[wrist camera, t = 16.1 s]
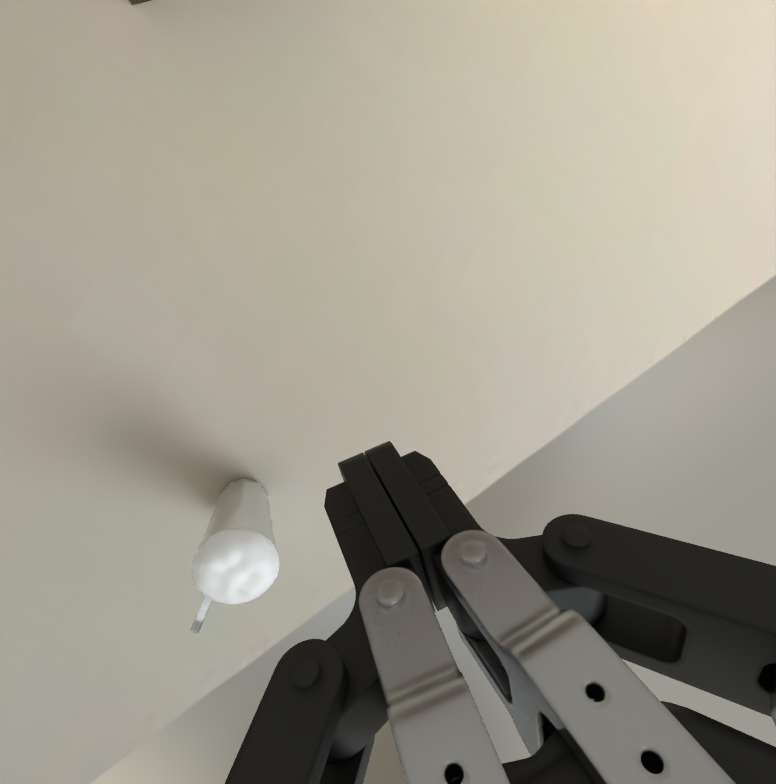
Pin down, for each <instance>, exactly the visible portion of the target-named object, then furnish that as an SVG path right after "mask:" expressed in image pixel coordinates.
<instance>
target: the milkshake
mask: <svg viewBox="0 0 776 784" xmlns="http://www.w3.org/2000/svg"><path fill="white" fill-rule="evenodd" d="M278 571H279V558H278V553H277V548H276V543H275V538H274V534H273V528H272V521H271V514H270V508H269V501H268V495H267V493H266V492H265V490H264V489H263V487H262V486H261V485H260V483H258V482H255V481H252V480H249V479H246V478H245V479H241V480H237V481H233V482H230V483H229V484H228V485H227V487H226V488H225V489H224V490H223V491H222V492H221V493H220V496H219V498H218V501H217V503H216V506H215V508H214V511H213V514H212V516H211V519H210V521H209V524H208V527H207V529H206V532H205V534H204V536H203V538H202V541H201V543H200V545H199V547H198V550H197V552H196V553H195V555H194V558H193V564H192V575H193V580H194V583H195V585H196V586H197V588H198V589H199V590H200V591H201V592H202V593H203V594H204V595H205V597H204V599H203V602H202V604H201V606H200V609H199V611H198V613H197V615H196V618H195V620H194V622H193V625H192V627H191V631H192V632H194V633H196V634H198V633H199V630H200V628H201V626H202V623H203V621H204V618H205V616H206V614H207V611H208V609H209V606H210V604H211V602H212V600H215V601H217V602H220V603H224V604H231V605H232V604H240V603H244V602H248V601H250V600H253V599H255V598H257V597H259V596H260V595H261V594H262V593H264V592H265V591H266V590H267V589H268V588H269V587H270V586H271V585H272V584H273V582H274V581H275V579H276V577H277V574H278Z"/></svg>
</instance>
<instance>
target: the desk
mask: <svg viewBox="0 0 776 784" xmlns="http://www.w3.org/2000/svg"><path fill="white" fill-rule="evenodd" d="M129 1H130V3H131V4H132V5H134V4H138V3H142V2H146V1H150V0H129Z"/></svg>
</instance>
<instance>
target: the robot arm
mask: <svg viewBox="0 0 776 784" xmlns="http://www.w3.org/2000/svg"><path fill="white" fill-rule="evenodd" d="M338 466H339V469H340V472H341V474H342V477H343V480H344V482H343V483H341V484H338V485H336V486H334V487H331V488H329V489H327V491H326V498H325V505H324V507H325V509H326V512H327V515H328V517H329V520H330V522H331V525H332V527H333V530H334V533H335V535H336V538H337V540H338V543H339V546H340V548H341V551H342V553H343V556H344V558H345V561H346V564H347V566H348V569H349V571H350V574H351V577H352V579H353V582H354V585H355V589H356V600H355V605H354V607H353V610H352V612H351V614H350V616H349V617H348V619H347V620H346V622H345V623H344V624H343V625H342V626H341V627H340V628H339V629H338V630H337V631H336V632H335V633H334V634H332V636H330V637H329V638H328V639H327V640H326V641H324V640H320V639H309V640H306V641H303V642H300V643H298V644H297V645H295V646H293V647H292V648H291V649H289V650H288V651H287V652H286V653H285V654H284V655H283V657H282V658H281V659H280V661H279V662H278V664H277V666H276V668H275V670H274V673H273V675H272V677H271V680H270V682H269V684H268V686H267V688H266V691H265V693H264V696H263V698H262V700H261V702H260V704H259V707H258V709H257V711H256V713H255V716H254V718H253V720H252V723H251V725H250V727H249V729H248V732H247V734H246V736H245V739H244V741H243V743H242V745H241V748H240V750H239V752H238V755H237V757H236V759H235V761H234V764H233V766H232V768H231V770H230V773H229V775H228V777H227V779H226V782H225V784H363V781H364V777H365V774H366V770H367V766H368V762H369V758H370V755H371V751H372V747H373V743H374V738H375V734H376V733H377V732H378V731H379V730H380V728H381V727H382V726H383V725H384V724H385V723H386V722H387V721H388V720H389V723H390V727H391V730H392V734H393V738H394V742H395V745H396V749H397V752H398V756H399V759H400V763H401V767H402V770H403V774H404V777H405V781H406V784H776V747H774V746H772V745H770V744H767V743H765V742H763V741H761V740H758V739H756V738H754V737H752V736H749V735H747V734H745V733H743V732H741V731H738V730H736V729H734V728H732V727H729V726H727V725H725V724H722V723H720V722H718V721H716V720H713V719H711V718H709V717H707V716H705V715H702V714H700V713H698V712H696V711H693V710H691V709H688V708H686V707H682V706H679V705H676V704H673V703H668V702H664V701H659V700H658V698H657V697H656V696H655V695H654V694H653V693H652V692H651V691H650V690H649V689H648V687H647V686H646V685H645V684H644V683H643V682H642V681H641V680H640V679H639V678H638V677H637V676H636V674H635V673H634V672H633V671H632V670H631V669H630V668H629V667H628V666H627V664H626V663H625V662H623V660H622V659H624V660H627V661H629V662H632V663H635V664H637V665H640V666H642V667H645V668H648V669H650V670H653V671H655V672H658V673H660V674H663V675H665V676H668V677H670V678H673V679H676V680H678V681H681V682H683V683H686V684H688V685H691V686H694V687H696V688H699V689H701V690H704V691H706V692H709V693H711V694H714V695H716V696H719V697H722V698H724V699H727V700H729V701H732V702H734V703H737V704H739V705H742V706H745V707H747V708H750V709H752V710H755V711H757V712H760V713H762V714H765V715H768V716H770V717H772V719H773V721H774V723H775V725H776V566H773V565H769V564H766V563H762V562H758V561H754V560H751V559H747V558H743V557H739V556H735V555H732V554H728V553H724V552H720V551H716V550H713V549H709V548H705V547H701V546H697V545H694V544H690V543H686V542H682V541H678V540H674V539H671V538H667V537H663V536H659V535H656V534H652V533H648V532H644V531H640V530H637V529H633V528H629V527H625V526H622V525H618V524H614V523H610V522H606V521H602V520H599V519H595V518H591V517H587V516H583V515H577V514H576V515H575V514H568V515H563V516H559V517H557V518H555V519H553V520H552V521H551V522H550V523H548V524H547V526H546V527H545V529H544V531H543V535H539V536H532V537H526V538H519V539H505V538H500V537H496V536H494V535H492V534H490V533H488V532H486V531H484V530H483V529H482V528H481V527H480V526H479V525H478V524H477V522H476V521H475V519H474V518H473V517H472V515H471V514H470V513H469V511H468V510H467V509H466V507H465V506H464V504H463V503H462V502H461V500H460V499H459V498H458V496H457V495H456V494H455V492H454V491H453V489H452V488H451V487H450V486H449V485H448V483H447V481H446V480H445V479H444V477H443V476H442V475H441V474H440V472H439V470H438V469H437V468H436V466H435V465H434V463H433V462H432V461H431V459H429V458H427V457H425V456H423V455H422V454H420V453H418V452H416V451H414V452H411V453H409V454H407V455H405V456H402V457H400V455H399V454H398V452H397V451H396V449H395V448H394V446H393V444H392V443H391V442H390V441H388V442H386V443H384V444H381V445H379V446H377V447H374V448H372V449H369V450H367V451H365V455H364V453H360V454H358V455H356V456H353V457H351V458H349V459H346V460H344V461H342V462H339V463H338ZM432 601H433V602H432ZM433 603H434V605H435V607H436V609H437V610H438V611H439V610H441V609H443V608H445V607H447V606H448V608H449V610H450V612H451V613H452V615H453V617H454V619H455V621H456V624H457V628H458V631H459V635H460V637H461V639H462V640H463V642H464V643H465V645H466V646H467V648H468V650H469V651H470V653H471V654H472V656H473V657H474V659H475V660H476V662H477V663H478V665H479V667H480V668H481V670H482V671H483V673H484V674H485V676H486V677H487V679H488V680H489V682H490V684H491V685H492V687H493V688H494V690H495V691H496V693H497V694H498V696H499V697H500V699H501V701H502V702H503V704H504V705H505V707H506V708H507V710H508V712H509V713H510V715H511V717H512V719H513V721H514V724H515V726H516V728H517V730H518V732H519V734H520V736H521V739H522V740H523V742H524V744H525V746H526V747H527V749H528V751H529V753H530V754H531V757H529V758H526V759H522V760H517V761H513V762H508V763H503V764H501V762H500V759H499V757H498V755H497V752H496V750H495V748H494V745H493V743H492V741H491V738H490V736H489V734H488V731H487V729H486V726H485V724H484V722H483V719H482V717H481V715H480V713H479V710H478V708H477V705H476V703H475V701H474V698H473V696H472V694H471V691H470V689H469V687H468V685H467V683H466V680H465V678H464V676H463V675H462V673H461V672H460V671H459V669H458V667H457V665H456V662H455V660H454V658H453V656H452V653H451V651H450V649H449V646H448V644H447V641H446V639H445V637H444V634H443V632H442V629H441V627H440V625H439V623H438V620H437V618H436V615H435V609H434V606H433ZM621 658H622V659H621Z"/></svg>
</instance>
